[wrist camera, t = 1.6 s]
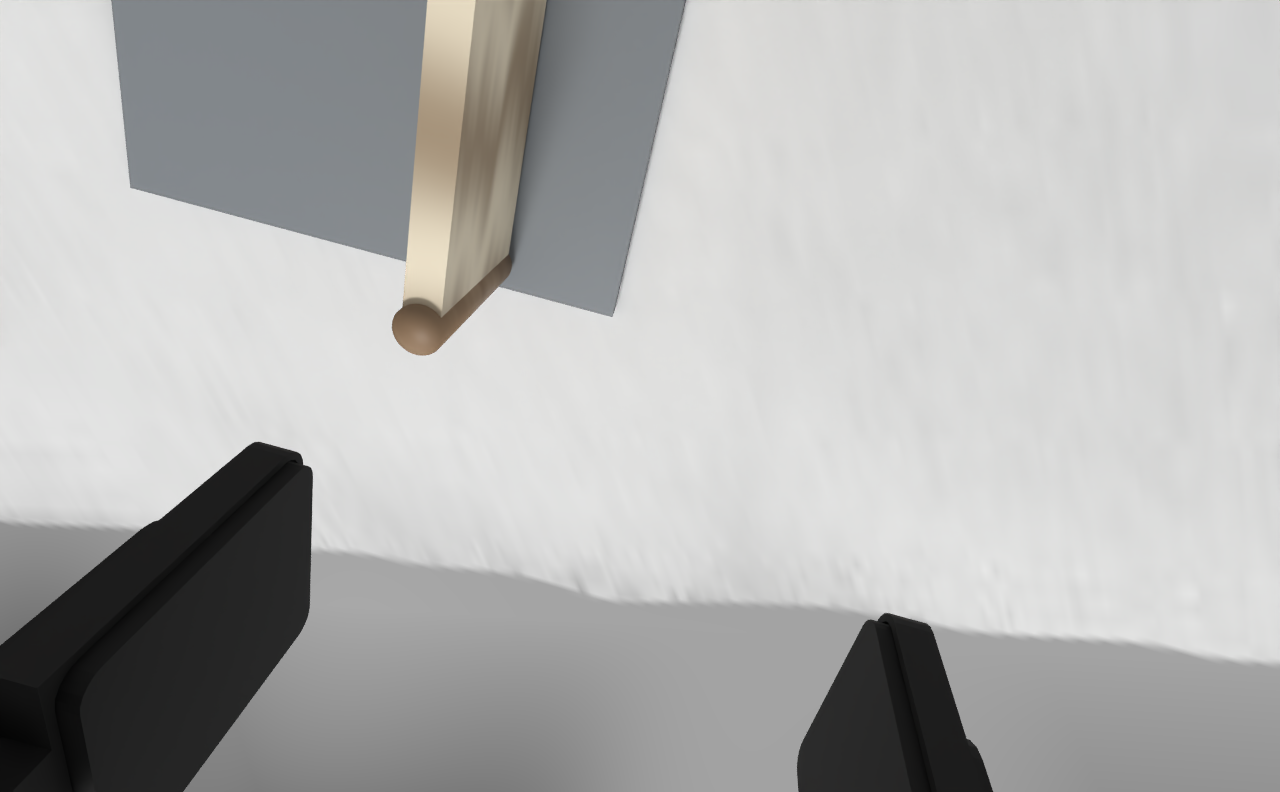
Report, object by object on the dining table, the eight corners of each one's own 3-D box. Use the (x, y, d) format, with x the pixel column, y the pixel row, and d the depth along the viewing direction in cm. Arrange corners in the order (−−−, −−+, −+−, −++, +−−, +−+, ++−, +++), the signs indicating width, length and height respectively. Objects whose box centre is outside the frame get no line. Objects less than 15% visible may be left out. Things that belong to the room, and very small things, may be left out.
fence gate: (513, -77, 23) (424, -117, 17) (562, -63, 23) (492, -99, 17) (469, 276, 29) (390, 347, 22) (508, 287, 29) (440, 361, 22)
